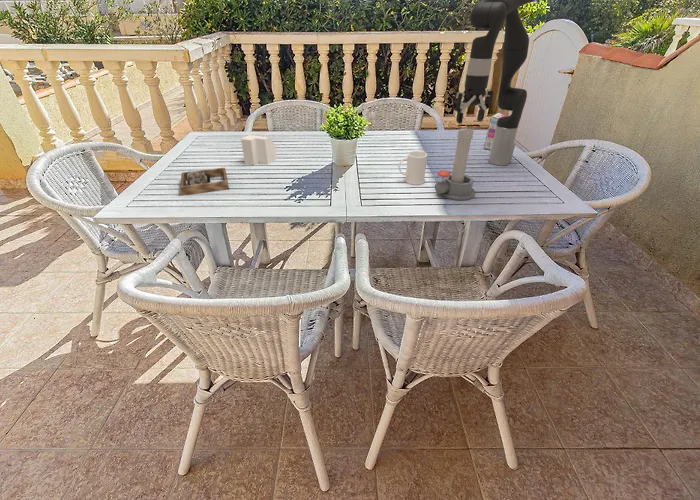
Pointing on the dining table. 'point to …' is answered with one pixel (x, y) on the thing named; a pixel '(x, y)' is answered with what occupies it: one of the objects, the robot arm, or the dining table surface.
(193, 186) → the parts corral
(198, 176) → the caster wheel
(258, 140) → the corner bracket
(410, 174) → the mug
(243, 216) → the dining table surface
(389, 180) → the dining table surface
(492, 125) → the candy bar box
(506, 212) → the dining table surface
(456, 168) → the pipe
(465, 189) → the valve socket
